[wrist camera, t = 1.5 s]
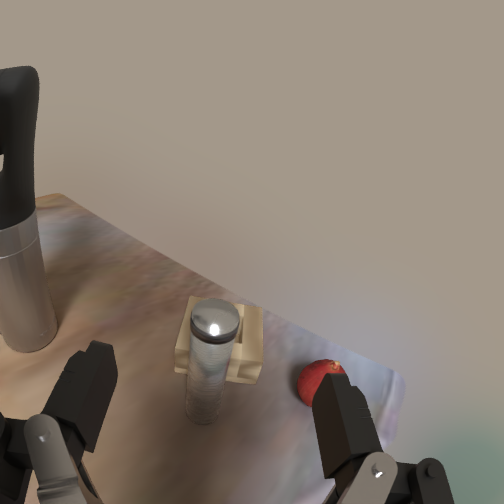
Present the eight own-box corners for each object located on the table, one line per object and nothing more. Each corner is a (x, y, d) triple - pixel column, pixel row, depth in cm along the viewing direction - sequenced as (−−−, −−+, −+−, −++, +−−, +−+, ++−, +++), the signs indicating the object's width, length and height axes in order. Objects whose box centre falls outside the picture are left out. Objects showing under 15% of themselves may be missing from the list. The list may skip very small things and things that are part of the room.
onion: (279, 397, 33) (299, 355, 29) (310, 377, 36) (331, 335, 33) (312, 428, 29) (340, 391, 25) (341, 404, 33) (369, 365, 29)
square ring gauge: (174, 371, 33) (174, 347, 31) (188, 319, 42) (190, 295, 40) (255, 384, 34) (263, 362, 32) (255, 330, 43) (262, 307, 41)
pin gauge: (182, 422, 27) (186, 325, 20) (187, 395, 31) (195, 294, 24) (217, 427, 27) (239, 334, 21) (220, 400, 31) (241, 302, 24)
